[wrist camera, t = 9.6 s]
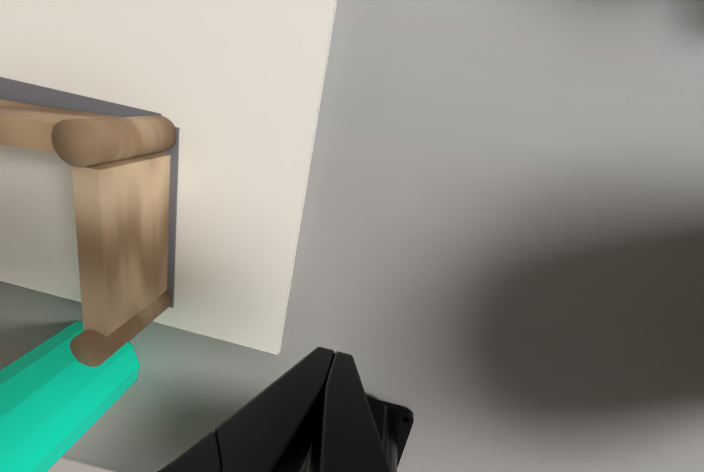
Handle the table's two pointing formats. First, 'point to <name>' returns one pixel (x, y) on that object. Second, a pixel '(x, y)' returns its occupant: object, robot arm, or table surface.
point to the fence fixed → (118, 225)
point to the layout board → (189, 149)
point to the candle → (56, 400)
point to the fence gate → (34, 123)
